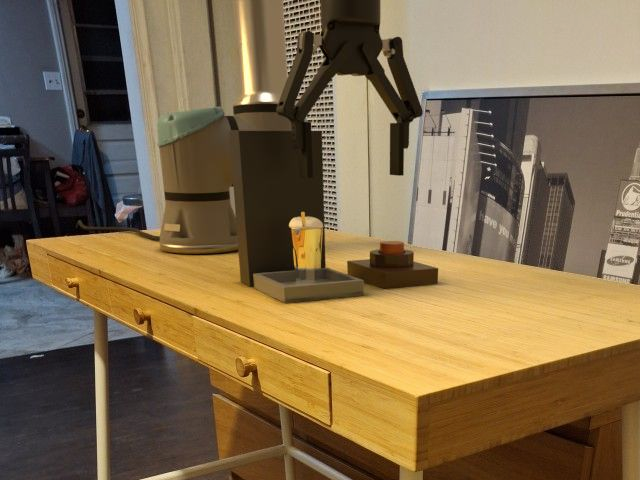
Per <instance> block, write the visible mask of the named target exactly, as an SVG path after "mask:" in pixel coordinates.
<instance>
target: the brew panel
mask: <svg viewBox="0 0 640 480" xmlns="http://www.w3.org/2000/svg"><path fill="white" fill-rule="evenodd" d="M414 257H415V252H414V250H410V249H406V248H404V253H402V254H384V253H380V248H379V249H378V248H376V249H372V250H370V251H369V259H368V258H366V259H353V260H347V261H346V268H347V269H346V272H347V273H346V274H347V275H350V276H353V277H356V278H359V279H362V280H364V283H367V284H370V285H373V286H376V287H378V288H381V289H385V290H386V289H396V288H406V287H417V286H426V285H427V286H428V285H437V284H439V267H435V266H432V265H428V264H424V263H422V262H417V261H414V259H415V258H414Z"/></svg>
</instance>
